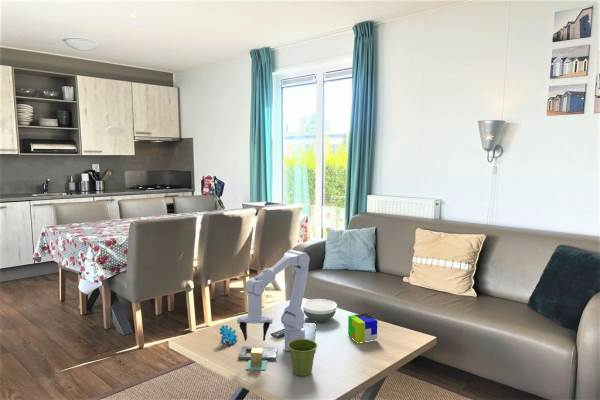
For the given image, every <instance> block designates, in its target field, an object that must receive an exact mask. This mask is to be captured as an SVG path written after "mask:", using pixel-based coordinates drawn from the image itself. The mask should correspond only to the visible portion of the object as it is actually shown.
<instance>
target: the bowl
mask: <svg viewBox="0 0 600 400" xmlns="http://www.w3.org/2000/svg"><path fill="white" fill-rule="evenodd" d="M301 307H302V310H303V312H304V316H306V317H307V318H308V319H310V320H311V321H312V320H313V322H314V321H316V322H315V323H325V321H326V322H327V321H329V320H331V319H332V318H333V317H334V316H335V314H336V312H337V311H336V310H337V308H338V304H337V302H335V301H334V300H330V299H324V298H313V299H307V300H305V301H303V302H302V305H301Z"/></svg>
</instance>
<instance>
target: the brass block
mask: <svg viewBox="0 0 600 400" xmlns="http://www.w3.org/2000/svg"><path fill="white" fill-rule="evenodd" d="M250 355H251V367H262V364H263V348H252V350H251V351H250Z"/></svg>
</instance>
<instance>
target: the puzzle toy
mask: <svg viewBox="0 0 600 400" xmlns="http://www.w3.org/2000/svg"><path fill="white" fill-rule="evenodd" d="M347 316H348V322H347V323H348V325H347V326H348V327H347V330H348V331H347V336H348V335H349V336H350V337H352V338H353V339H354V340H355V341H357V342H358V343H360V342H365V341H370V340H375V339H377V340H378V319H376V318H375V317H373V316H372V315H370V314H368V313H365V312H364V313H360V314H353V315H347ZM349 336H348V337H349ZM350 337H349V338H350ZM352 338H351V339H352ZM353 339H352V340H353ZM354 340H353V341H354ZM355 341H354V342H355ZM358 343H357V344H358Z"/></svg>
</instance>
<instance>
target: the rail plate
mask: <svg viewBox="0 0 600 400" xmlns="http://www.w3.org/2000/svg"><path fill="white" fill-rule="evenodd" d="M252 348H263V360H267V361H274V362H275V361H277V355H278V349H279V348H278V346H253V345H252V346H251V345H250V346H249V345H248V346H247V345H245V346H241V348H240V351H239V354H238V357H237V358H238V359H237V360H238V361H248V360H251V354H247V352H251V350H252Z"/></svg>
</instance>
